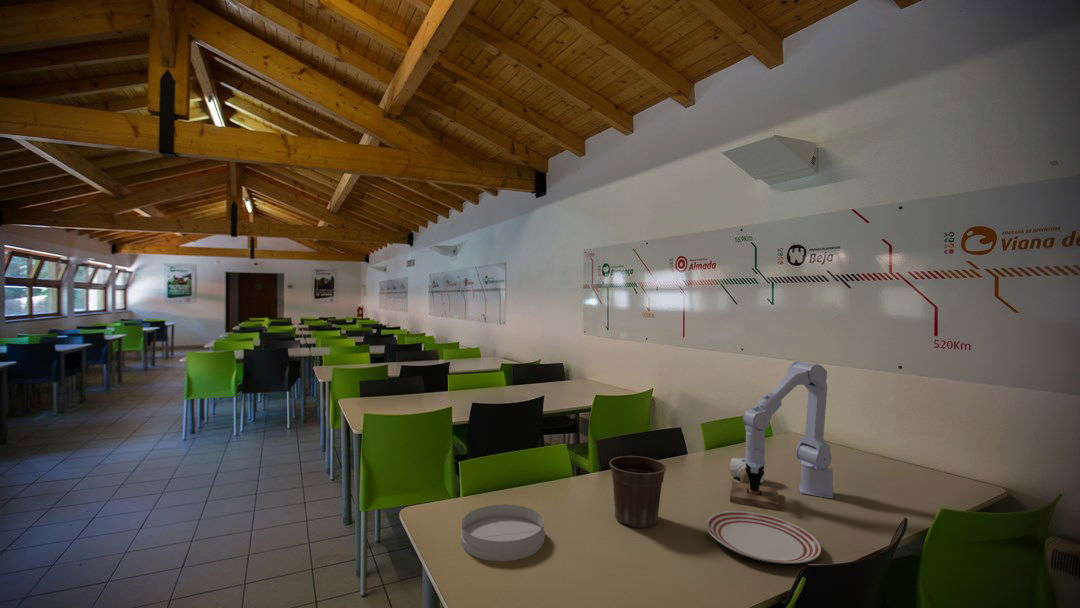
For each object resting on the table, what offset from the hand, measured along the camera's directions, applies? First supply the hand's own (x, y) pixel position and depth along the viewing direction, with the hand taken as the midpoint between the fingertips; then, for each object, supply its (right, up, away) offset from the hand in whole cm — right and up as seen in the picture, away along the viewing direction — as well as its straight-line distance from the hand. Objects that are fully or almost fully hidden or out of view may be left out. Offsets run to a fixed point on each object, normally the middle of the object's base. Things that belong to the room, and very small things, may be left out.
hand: (754, 488), depth 159 cm
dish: (-80, -2, -30) cm, 86 cm away
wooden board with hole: (0, -3, 0) cm, 3 cm away
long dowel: (0, -3, 0) cm, 3 cm away
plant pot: (-42, -3, -17) cm, 45 cm away
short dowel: (+2, -3, +12) cm, 13 cm away
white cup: (+1, 0, +20) cm, 20 cm away
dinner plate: (-12, -3, -31) cm, 33 cm away
